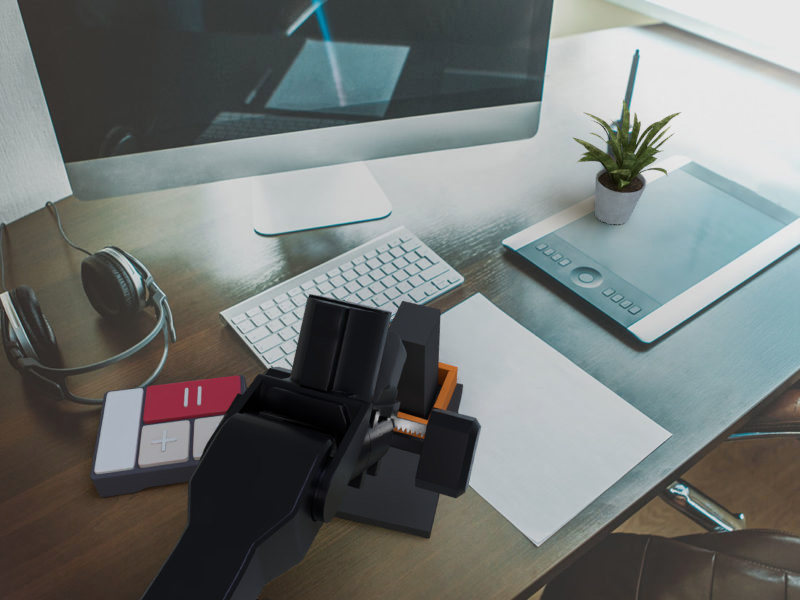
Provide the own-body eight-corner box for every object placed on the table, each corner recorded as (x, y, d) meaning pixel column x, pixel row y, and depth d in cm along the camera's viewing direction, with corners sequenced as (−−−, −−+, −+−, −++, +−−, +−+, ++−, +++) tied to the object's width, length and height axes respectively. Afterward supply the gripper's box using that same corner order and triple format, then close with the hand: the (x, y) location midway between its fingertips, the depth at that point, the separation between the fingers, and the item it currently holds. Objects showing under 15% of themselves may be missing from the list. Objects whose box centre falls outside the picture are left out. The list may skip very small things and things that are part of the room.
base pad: (429, 539, 62) (430, 516, 59) (320, 514, 64) (315, 490, 61) (463, 387, 75) (465, 361, 72) (371, 370, 77) (369, 344, 74)
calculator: (246, 453, 65) (86, 475, 62) (251, 476, 67) (99, 498, 65) (244, 369, 72) (102, 386, 70) (249, 393, 75) (112, 410, 73)
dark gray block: (423, 427, 69) (425, 345, 60) (388, 417, 70) (384, 335, 61) (437, 392, 72) (440, 309, 63) (403, 382, 73) (402, 300, 64)
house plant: (615, 174, 106) (638, 78, 94) (683, 216, 97) (719, 116, 86) (548, 203, 100) (565, 105, 89) (615, 250, 92) (643, 149, 80)
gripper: (485, 364, 44) (503, 355, 59) (239, 305, 48) (315, 311, 64) (449, 524, 44) (477, 474, 59) (208, 451, 48) (291, 422, 64)
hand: (387, 415), depth 61 cm, fingers open, 9 cm apart
